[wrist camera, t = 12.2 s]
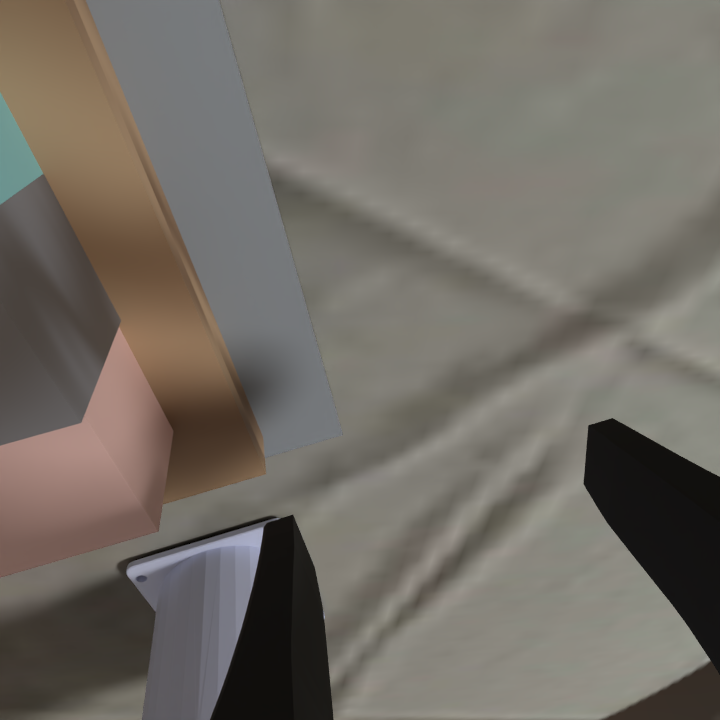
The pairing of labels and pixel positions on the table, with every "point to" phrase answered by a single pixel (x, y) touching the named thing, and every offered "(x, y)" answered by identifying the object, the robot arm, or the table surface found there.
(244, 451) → the pallet
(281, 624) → the robot arm
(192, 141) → the grey flat block
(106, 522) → the crate rose
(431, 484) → the table surface
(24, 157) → the block
